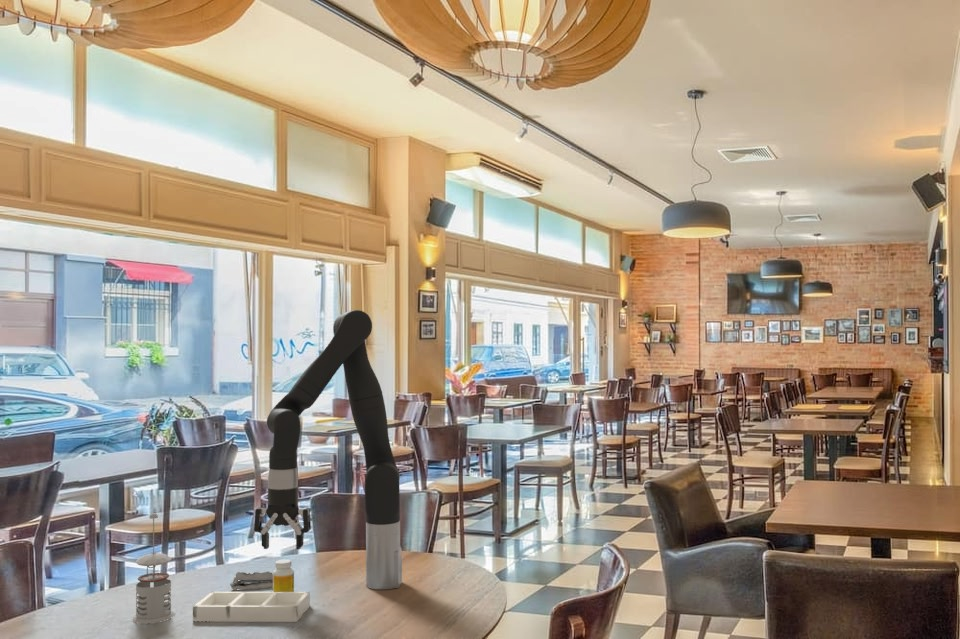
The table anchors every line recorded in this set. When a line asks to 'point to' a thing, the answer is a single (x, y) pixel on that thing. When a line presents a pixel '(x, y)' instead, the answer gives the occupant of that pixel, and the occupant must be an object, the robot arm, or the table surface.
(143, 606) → the french press
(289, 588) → the supplement bottle
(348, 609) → the table surface
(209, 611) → the rack
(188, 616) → the table surface
